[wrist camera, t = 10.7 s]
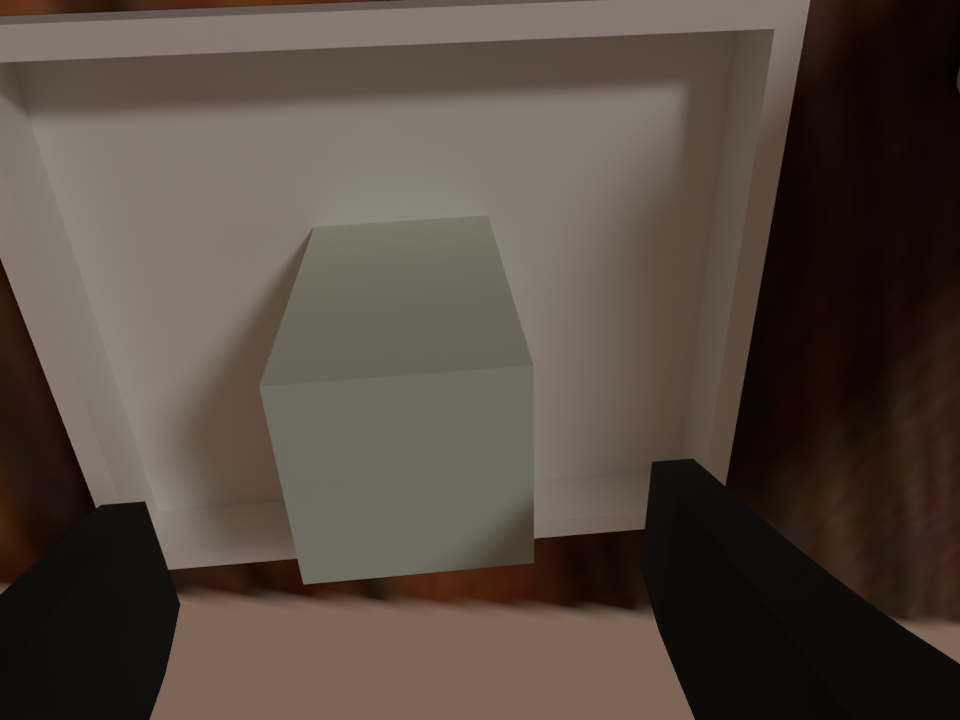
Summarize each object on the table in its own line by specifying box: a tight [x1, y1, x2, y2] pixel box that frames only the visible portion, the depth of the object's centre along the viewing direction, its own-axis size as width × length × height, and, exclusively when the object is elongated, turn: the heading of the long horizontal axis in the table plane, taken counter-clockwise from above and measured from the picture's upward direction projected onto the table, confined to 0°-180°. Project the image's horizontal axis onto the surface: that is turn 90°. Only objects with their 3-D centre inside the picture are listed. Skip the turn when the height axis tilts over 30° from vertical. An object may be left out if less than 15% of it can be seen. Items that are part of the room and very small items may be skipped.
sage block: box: [259, 215, 534, 584], centre depth 15 cm, size 4×4×7 cm
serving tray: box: [0, 0, 810, 570], centre depth 17 cm, size 16×13×2 cm
